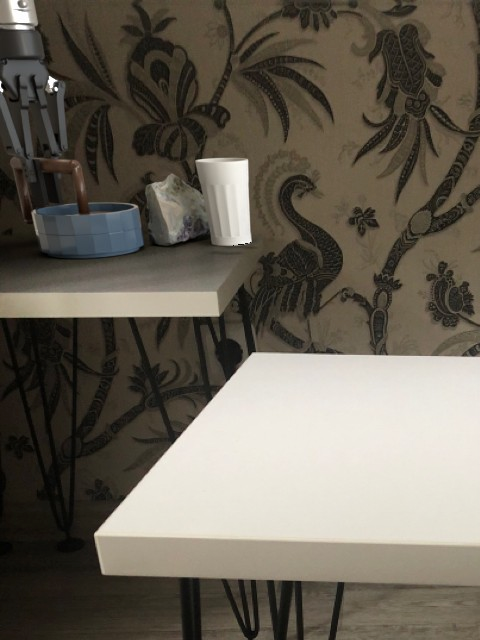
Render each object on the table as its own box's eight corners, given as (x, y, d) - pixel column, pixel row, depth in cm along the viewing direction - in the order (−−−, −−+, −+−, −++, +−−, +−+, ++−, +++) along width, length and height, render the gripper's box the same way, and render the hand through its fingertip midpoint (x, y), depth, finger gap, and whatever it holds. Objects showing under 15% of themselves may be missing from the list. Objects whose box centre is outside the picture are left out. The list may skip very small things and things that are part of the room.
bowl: (33, 261, 134) (23, 217, 131) (49, 245, 146) (40, 204, 143) (141, 256, 136) (133, 213, 133) (147, 240, 149) (141, 201, 146)
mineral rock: (215, 233, 156) (207, 168, 151) (236, 241, 148) (228, 173, 143) (139, 239, 150) (128, 172, 145) (157, 248, 142) (145, 178, 137)
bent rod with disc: (129, 231, 142) (117, 160, 137) (95, 236, 137) (81, 162, 132) (43, 221, 152) (29, 155, 147) (9, 226, 147) (-7, 157, 142)
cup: (267, 240, 148) (258, 158, 142) (233, 248, 142) (223, 162, 136) (230, 237, 152) (220, 157, 146) (195, 244, 146) (184, 161, 140)
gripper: (-21, 26, 126) (21, 210, 137) (72, 29, 137) (103, 200, 148) (-52, 28, 129) (-9, 207, 141) (40, 30, 140) (73, 197, 152)
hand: (48, 203), depth 145 cm, fingers closed on bent rod with disc, 2 cm apart
